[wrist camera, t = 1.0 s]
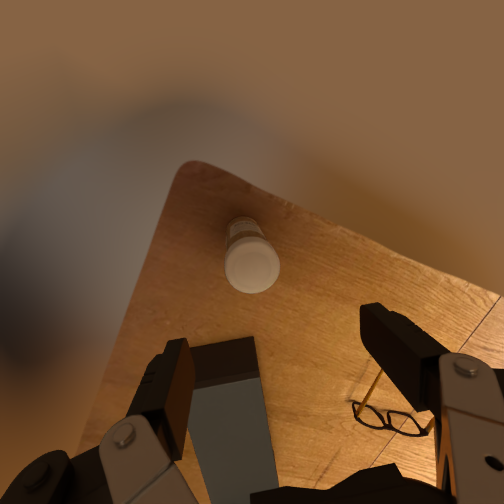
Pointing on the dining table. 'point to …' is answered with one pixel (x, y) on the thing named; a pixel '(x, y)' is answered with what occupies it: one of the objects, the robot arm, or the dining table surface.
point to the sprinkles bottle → (249, 257)
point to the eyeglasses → (387, 426)
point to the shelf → (231, 422)
